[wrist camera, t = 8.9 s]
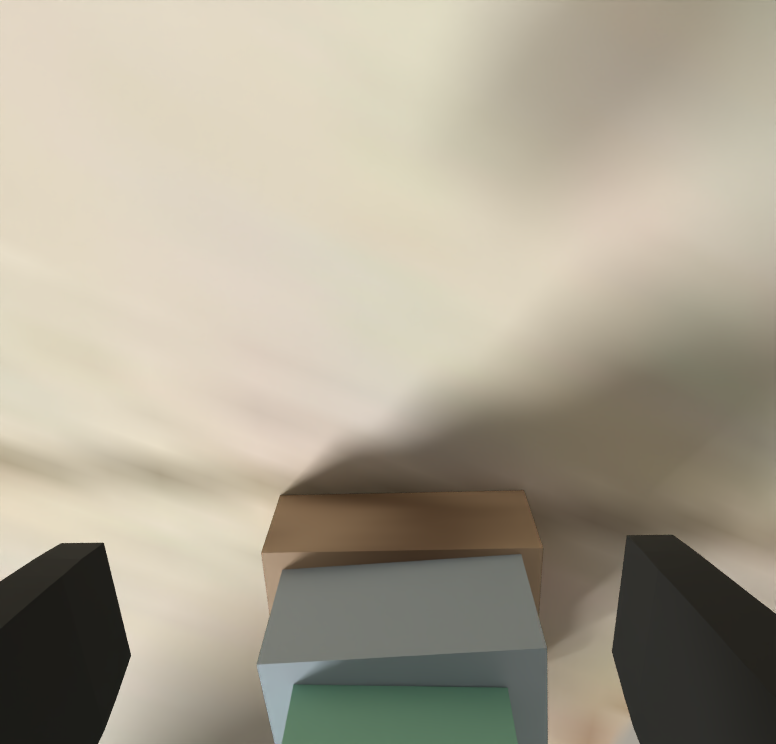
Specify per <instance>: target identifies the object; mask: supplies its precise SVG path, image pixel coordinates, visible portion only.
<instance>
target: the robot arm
mask: <svg viewBox="0 0 776 744" xmlns="http://www.w3.org/2000/svg"><path fill="white" fill-rule="evenodd" d="M612 653H613V657H614V661H615V664H616V668H617V672H618V675H619V679H620V683H621V686H622V690H623V694H624V697H625V700H626V704H627V707H628V710H629V714H630V717H631V720H632V724H633V727H634V730H635V732H636V735H637V737H638V740H639V742H640V744H776V614H775V613H774V612H773V611H771V610H770V609H769V608H768V607H766V606H765V605H764V604H762V603H761V602H760V601H758V600H757V599H756V598H755V597H753V596H752V595H751V594H749V593H748V592H747V591H746V590H744V589H743V588H742V587H740V586H739V585H738V584H737V583H735V582H734V581H733V580H731V579H730V578H729V577H728V576H726V575H725V574H724V573H723V572H721V571H720V570H719V569H717V568H716V567H715V566H714V565H712V564H711V563H710V562H708V561H707V560H706V559H705V558H703V557H702V556H701V555H699V554H698V553H697V552H695V551H694V550H693V549H691V548H690V547H689V546H687V545H686V544H685V543H683V542H682V541H681V540H679V539H678V538H676V537H675V536H674V535H629V536H627V539H626V546H625V554H624V562H623V570H622V578H621V586H620V593H619V601H618V609H617V617H616V625H615V633H614V640H613V648H612ZM130 657H131V653H130V649H129V645H128V641H127V637H126V633H125V629H124V624H123V620H122V616H121V612H120V608H119V604H118V600H117V596H116V591H115V587H114V583H113V579H112V575H111V571H110V567H109V563H108V558H107V554H106V550H105V546H104V543H61V544H59V545H57V546H56V547H54V548H52V549H50V550H49V551H47V552H45V553H44V554H42V555H40V556H39V557H37V558H36V559H34V560H32V561H31V562H29V563H28V564H26V565H25V566H23V567H21V568H20V569H18V570H17V571H15V572H14V573H12V574H11V575H9V576H8V577H6V578H5V579H3V580H2V581H0V744H98V743H99V740H100V738H101V736H102V734H103V732H104V730H105V727H106V725H107V722H108V719H109V717H110V714H111V711H112V709H113V706H114V703H115V701H116V698H117V695H118V692H119V689H120V686H121V683H122V680H123V678H124V675H125V672H126V669H127V666H128V663H129V660H130Z"/></svg>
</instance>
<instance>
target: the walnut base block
mask: <svg viewBox="0 0 776 744" xmlns="http://www.w3.org/2000/svg"><path fill="white" fill-rule="evenodd" d="M513 554H521V555H522V559H523V563H524V566H525V570H526V573H527V577H528V581H529V584H530V588H531V592H532V595H533V599H534V602H535V606H536V610H537V613H538V617H539V604H540V589H541V573H542V557H543V546H542V543H541V540H540V537H539V534H538V531H537V528H536V525H535V522H534V519H533V516H532V513H531V510H530V507H529V504H528V501H527V498H526V495H525V492H524V490H518V491H468V492H419V493H370V494H320V495H280V497H279V500H278V503H277V507H276V510H275V513H274V516H273V519H272V522H271V525H270V528H269V531H268V534H267V537H266V540H265V543H264V546H263V549H262V552H261V555H262V562H263V569H264V577H265V584H266V592H267V599H268V606H269V614H270V613H271V610H272V606H273V602H274V598H275V595H276V591H277V587H278V584H279V580H280V576H281V573H282V570H285V569H300V568H316V567H331V566H346V565H361V564H376V563H392V562H407V561H422V560H437V559H452V558H468V557H483V556H498V555H513Z"/></svg>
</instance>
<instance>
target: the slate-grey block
mask: <svg viewBox="0 0 776 744" xmlns="http://www.w3.org/2000/svg"><path fill="white" fill-rule="evenodd" d="M257 669H258V673H259V677H260V682H261V686H262V690H263V695H264V699H265V704H266V708H267V712H268V717H269V721H270V725H271V730H272V734H273V739H274V743H275V744H282V740H283V734H284V729H285V724H286V719H287V714H288V709H289V704H290V699H291V694H292V689H293V684H297V685H364V686H431V687H498V688H508V692H509V698H510V703H511V709H512V714H513V720H514V726H515V731H516V737H517V742H518V744H548V715H547V646H546V642H545V639H544V635H543V631H542V628H541V624H540V621H539V617H538V613H537V610H536V606H535V602H534V599H533V595H532V592H531V588H530V584H529V581H528V577H527V573H526V570H525V566H524V563H523V559H522V555H521V554H513V555H498V556H483V557H468V558H452V559H437V560H422V561H407V562H392V563H376V564H361V565H346V566H331V567H316V568H300V569H285V570H282V573H281V576H280V580H279V584H278V587H277V591H276V595H275V598H274V602H273V606H272V610H271V613H270V617H269V621H268V624H267V628H266V632H265V635H264V639H263V643H262V647H261V650H260V654H259V658H258V661H257Z"/></svg>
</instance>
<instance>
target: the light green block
mask: <svg viewBox="0 0 776 744" xmlns="http://www.w3.org/2000/svg"><path fill="white" fill-rule="evenodd" d="M282 744H518V742H517V737H516V731H515V726H514V720H513V714H512V709H511V703H510V698H509V692H508V688H498V687H431V686H364V685H297V684H293V689H292V694H291V699H290V704H289V709H288V714H287V719H286V724H285V729H284V734H283V740H282Z"/></svg>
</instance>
